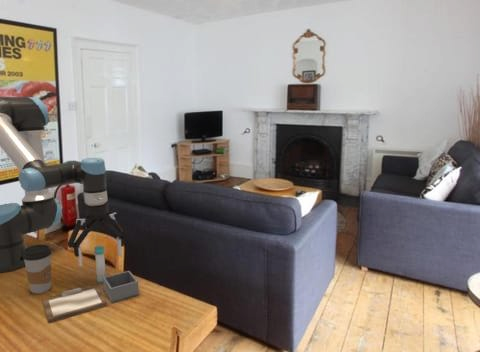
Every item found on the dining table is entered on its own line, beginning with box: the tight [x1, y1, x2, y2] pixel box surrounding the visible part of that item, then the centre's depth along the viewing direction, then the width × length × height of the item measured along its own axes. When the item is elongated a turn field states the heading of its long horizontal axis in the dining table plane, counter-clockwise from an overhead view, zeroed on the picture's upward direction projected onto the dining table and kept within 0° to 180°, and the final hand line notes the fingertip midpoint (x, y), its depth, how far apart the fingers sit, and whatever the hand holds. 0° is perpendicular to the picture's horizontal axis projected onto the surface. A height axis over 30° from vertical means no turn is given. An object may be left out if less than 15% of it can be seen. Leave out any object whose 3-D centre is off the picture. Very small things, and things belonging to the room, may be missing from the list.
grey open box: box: [102, 270, 140, 304], centre depth 124 cm, size 9×9×5 cm
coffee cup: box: [23, 244, 52, 295], centre depth 124 cm, size 8×8×15 cm
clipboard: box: [42, 284, 108, 324], centre depth 117 cm, size 13×17×2 cm
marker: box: [94, 245, 107, 284], centre depth 131 cm, size 3×3×13 cm
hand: (100, 259), depth 131 cm, fingers open, 13 cm apart
